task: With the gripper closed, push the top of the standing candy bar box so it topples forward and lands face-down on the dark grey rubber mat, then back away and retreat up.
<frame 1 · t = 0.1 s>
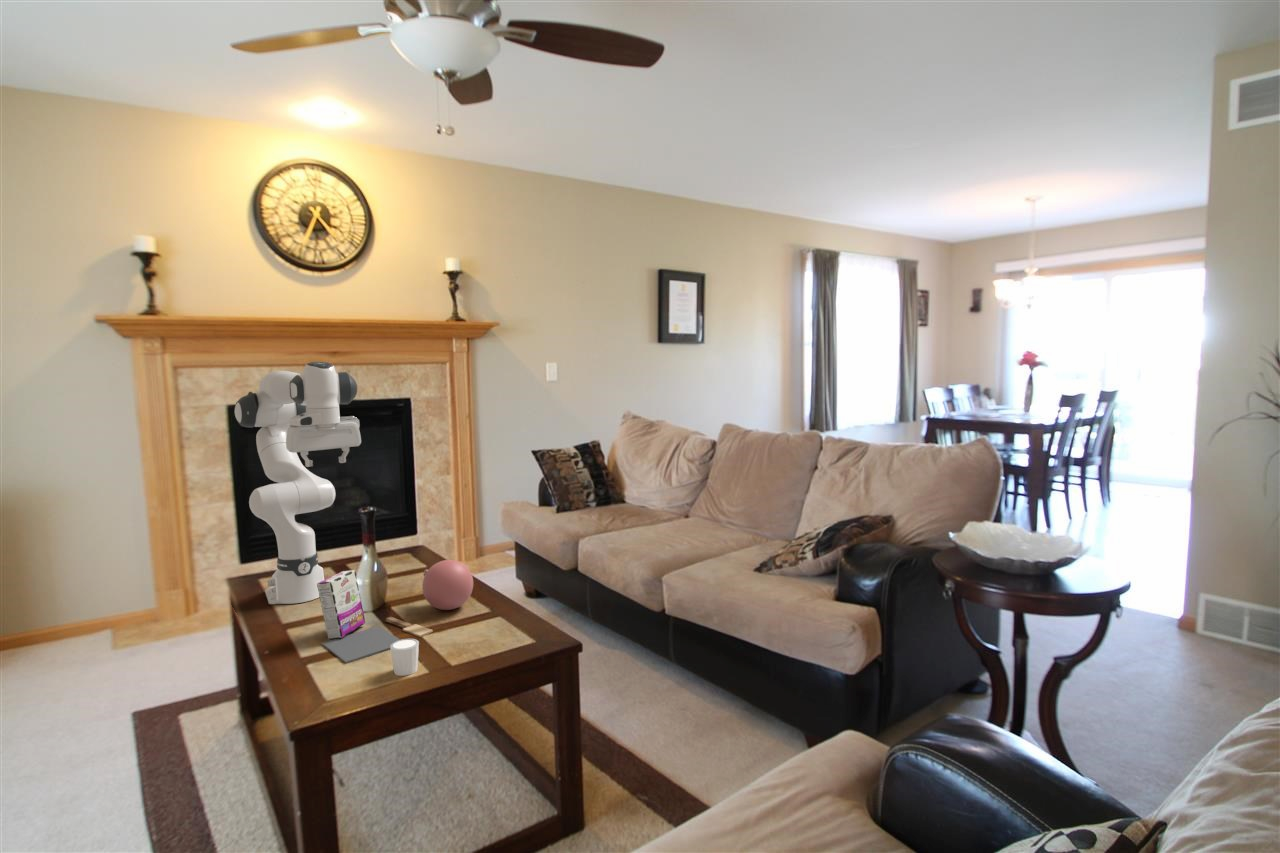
hand: (326, 464, 194), 48 cm above the table, fingers open, 8 cm apart
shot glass: (406, 671, 166), on the table
rose rubber ball: (445, 607, 210), on the table
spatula: (409, 628, 193), on the table
mat: (363, 644, 182), on the table
candy bar box: (346, 632, 190), on the table, touching mat
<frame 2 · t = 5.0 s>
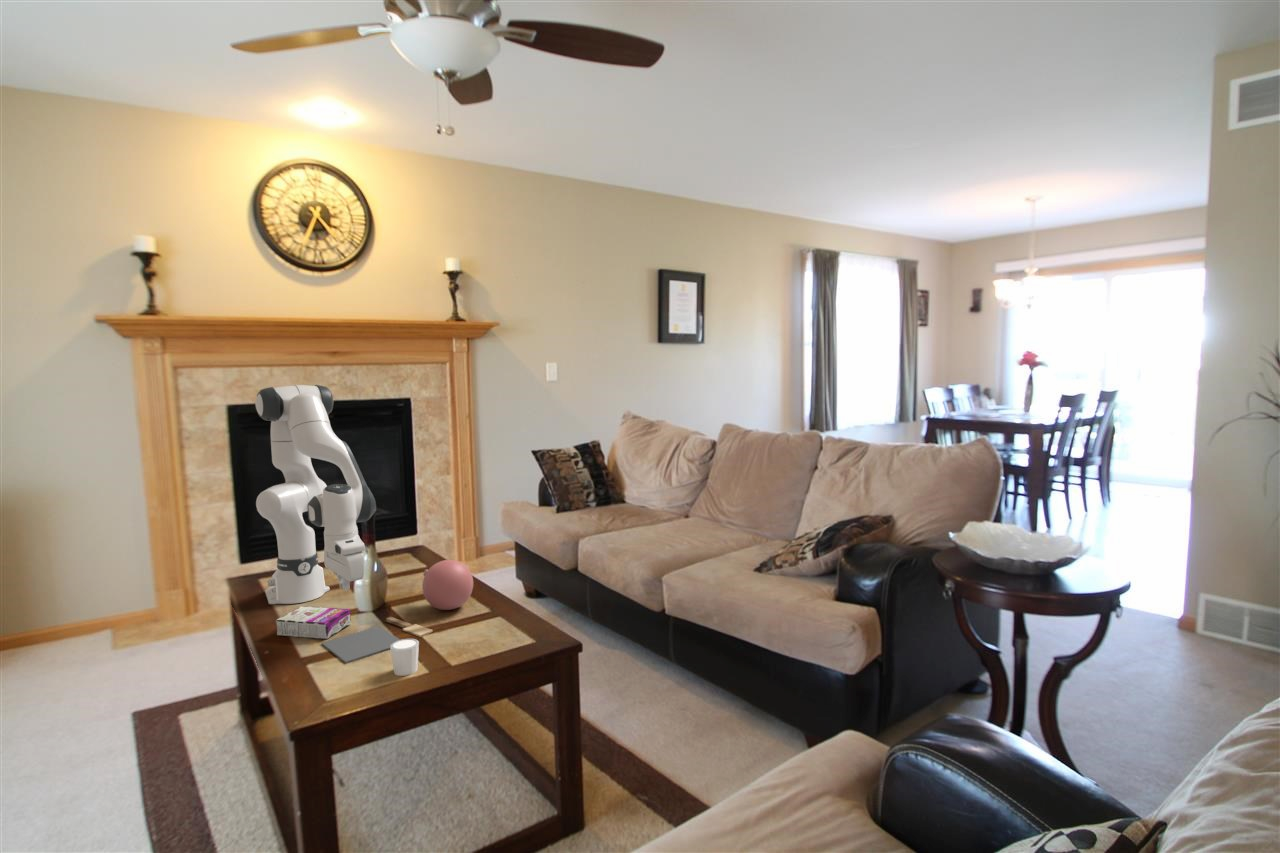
hand: (344, 589, 189), 13 cm above the table, fingers closed
candy bar box: (339, 624, 190), point 2 cm above the table
everything else where it was.
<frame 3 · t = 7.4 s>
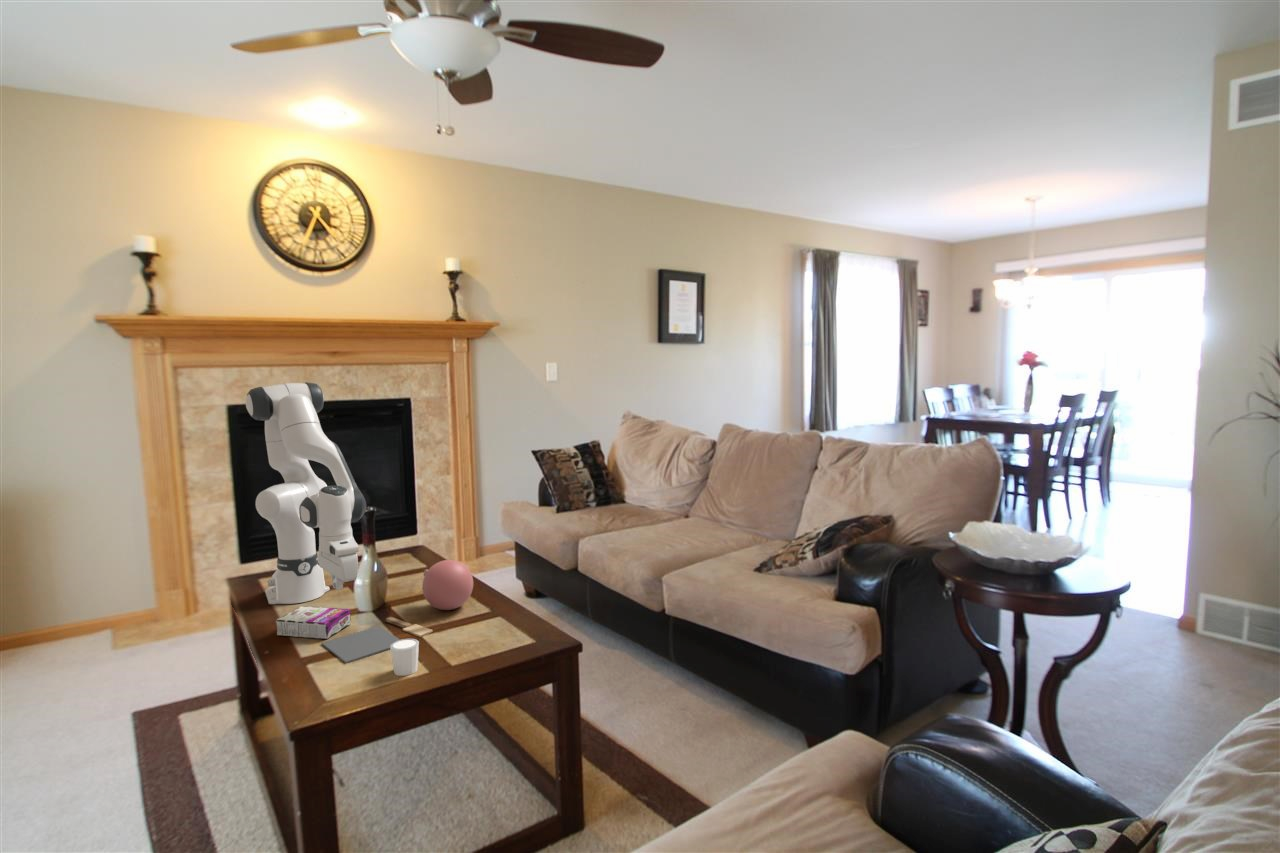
hand: (337, 588, 193), 12 cm above the table, fingers closed
nothing on the table moved.
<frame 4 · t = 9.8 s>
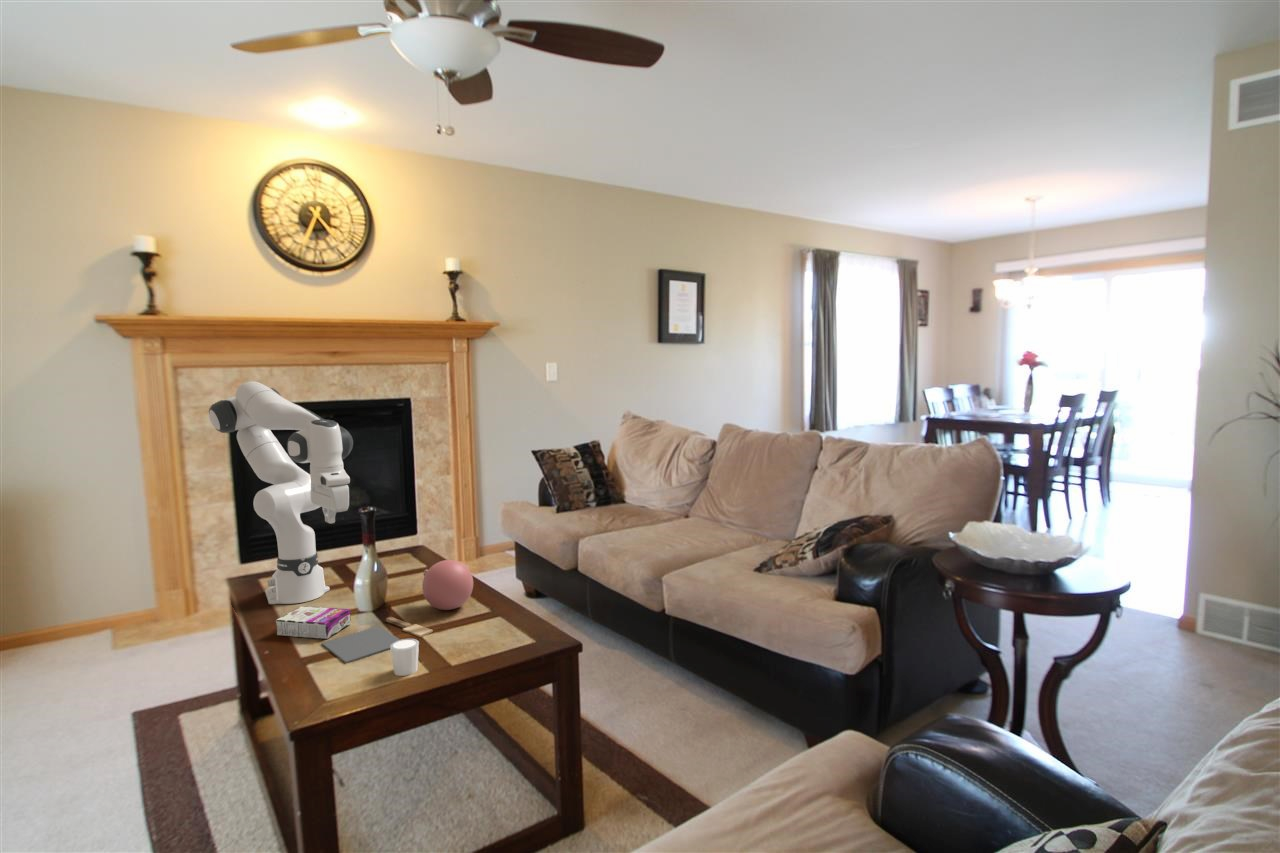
hand: (330, 522, 193), 31 cm above the table, fingers closed
nothing on the table moved.
at the end: candy bar box tilted 89°; candy bar box inside the target area (13.9 cm from its centre), point 2.4 cm above the table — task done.
